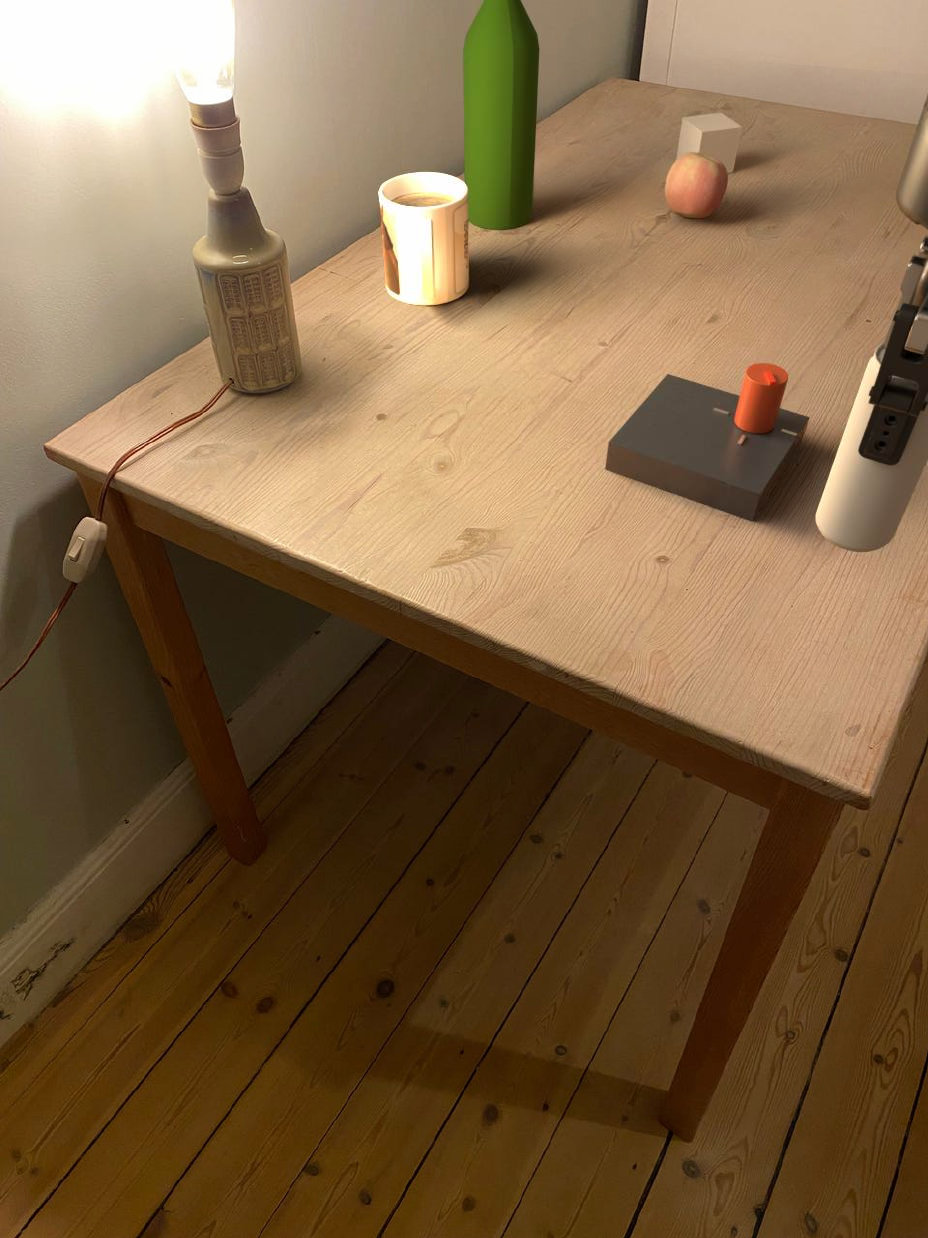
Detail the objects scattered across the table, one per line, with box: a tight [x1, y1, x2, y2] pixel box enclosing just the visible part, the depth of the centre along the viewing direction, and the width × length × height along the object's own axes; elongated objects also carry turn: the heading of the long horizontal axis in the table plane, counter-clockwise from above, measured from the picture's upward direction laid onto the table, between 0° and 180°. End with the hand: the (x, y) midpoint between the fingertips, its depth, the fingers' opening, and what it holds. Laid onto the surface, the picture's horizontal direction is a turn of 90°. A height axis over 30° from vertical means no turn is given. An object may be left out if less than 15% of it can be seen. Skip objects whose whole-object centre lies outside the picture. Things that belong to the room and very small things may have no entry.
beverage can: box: [815, 342, 928, 553], centre depth 53 cm, size 5×5×12 cm
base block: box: [604, 373, 810, 522], centre depth 83 cm, size 14×13×3 cm
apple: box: [664, 152, 729, 219], centre depth 116 cm, size 8×8×8 cm
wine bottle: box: [462, 0, 540, 231], centre depth 108 cm, size 9×9×32 cm
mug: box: [378, 171, 470, 306], centre depth 103 cm, size 10×12×11 cm
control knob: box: [734, 362, 789, 434], centre depth 81 cm, size 4×4×5 cm
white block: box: [675, 112, 743, 174], centre depth 128 cm, size 6×6×6 cm
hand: (891, 431), depth 52 cm, fingers closed on beverage can, 5 cm apart
